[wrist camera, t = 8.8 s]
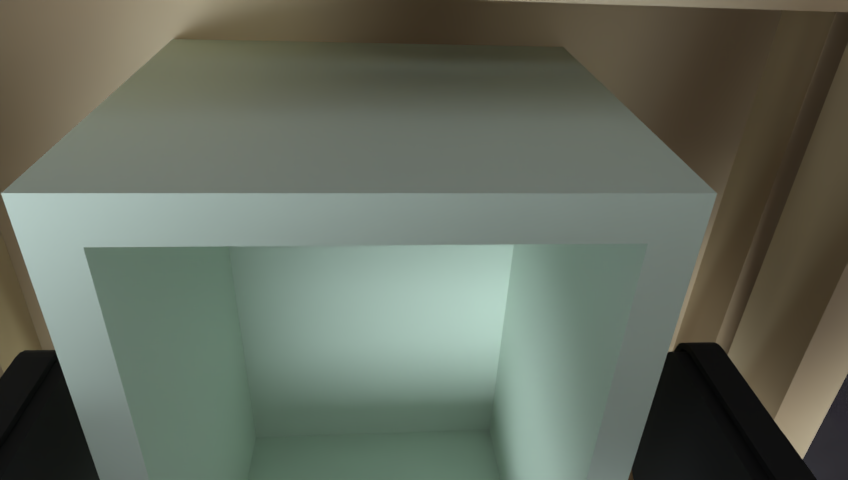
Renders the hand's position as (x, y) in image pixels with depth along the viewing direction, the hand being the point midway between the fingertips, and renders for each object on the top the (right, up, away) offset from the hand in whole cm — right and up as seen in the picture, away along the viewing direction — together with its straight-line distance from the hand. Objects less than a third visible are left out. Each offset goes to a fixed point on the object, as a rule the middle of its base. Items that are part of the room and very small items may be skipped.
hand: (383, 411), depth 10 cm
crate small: (0, +2, +4) cm, 4 cm away
